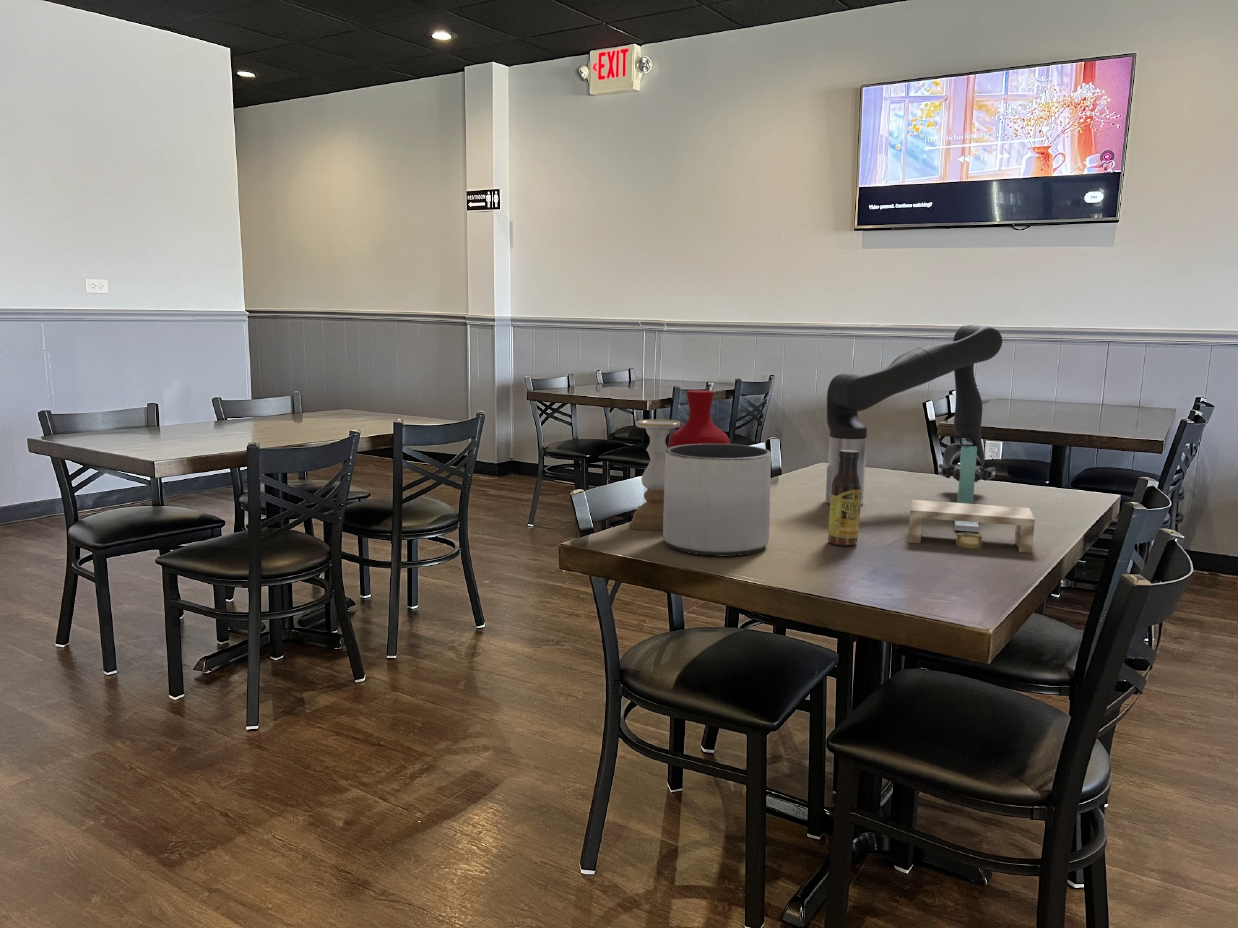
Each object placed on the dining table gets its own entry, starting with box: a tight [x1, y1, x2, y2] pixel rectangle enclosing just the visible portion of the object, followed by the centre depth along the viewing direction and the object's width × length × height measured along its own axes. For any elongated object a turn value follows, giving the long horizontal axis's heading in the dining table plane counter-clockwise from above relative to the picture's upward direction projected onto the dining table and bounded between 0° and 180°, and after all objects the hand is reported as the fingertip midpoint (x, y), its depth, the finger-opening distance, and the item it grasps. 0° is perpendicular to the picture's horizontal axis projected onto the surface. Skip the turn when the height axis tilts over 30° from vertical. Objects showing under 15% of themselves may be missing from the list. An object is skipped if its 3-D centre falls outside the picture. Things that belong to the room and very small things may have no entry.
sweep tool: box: [953, 446, 980, 533], centre depth 206 cm, size 5×24×16 cm, turn 160°
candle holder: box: [631, 418, 682, 531], centre depth 200 cm, size 11×11×24 cm
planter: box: [662, 443, 772, 556], centre depth 183 cm, size 22×22×20 cm
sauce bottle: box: [827, 450, 862, 547], centre depth 185 cm, size 6×6×20 cm
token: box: [955, 531, 983, 550], centre depth 185 cm, size 5×5×2 cm
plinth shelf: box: [908, 499, 1036, 554], centre depth 188 cm, size 24×12×7 cm, turn 70°
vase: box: [667, 389, 731, 448], centre depth 211 cm, size 15×15×30 cm
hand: (967, 477), depth 212 cm, fingers closed on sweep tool, 3 cm apart
